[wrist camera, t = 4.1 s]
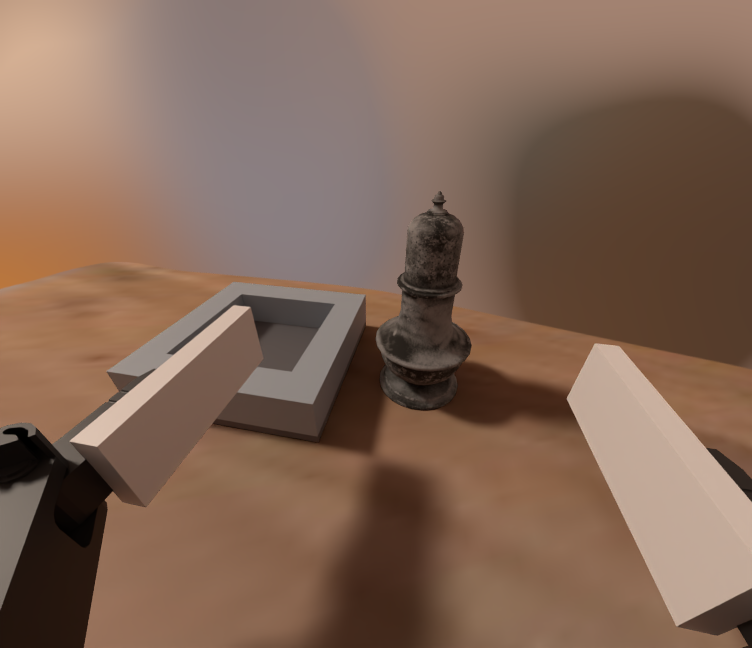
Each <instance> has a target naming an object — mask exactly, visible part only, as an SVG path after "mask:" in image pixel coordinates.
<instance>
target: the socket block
mask: <svg viewBox="0 0 752 648" xmlns="http://www.w3.org/2000/svg"><path fill="white" fill-rule="evenodd" d="M233 305H236V306H245V307H251V311H252V315H253V319H254V323H255V327H256V331H257V335H258V339H259V342H260V346H261V350H262V354H263V358H264V359H263V360H262V361H261V362H260V364H259V365H258V366H257V368H256V369H255V370H254V371H253V373H252V374H251V375H250V376H249V378H248V379H247V380H246V381H245V383H244V384H243V385H242V387H241V388H240V389H239V390H238V392H237V393H236V394H235V395H234V397H233V398H232V399H231V401H230V402H229V403H228V404H227V406H226V407H225V408H224V409H223V411H222V412H221V413H220V414H219V416H218V417H217V418H216V420H215V421H214V422H213V424H219V425H224V426H230V427H235V428H241V429H247V430H252V431H258V432H263V433H269V434H274V435H280V436H285V437H291V438H296V439H302V440H308V441H313V442H319V440H320V437H321V435H322V432H323V430H324V427H325V425H326V422H327V420H328V418H329V415H330V413H331V410H332V408H333V405H334V403H335V400H336V398H337V395H338V393H339V390H340V388H341V385H342V383H343V380H344V378H345V375H346V373H347V371H348V368H349V366H350V363H351V361H352V358H353V356H354V353H355V351H356V348H357V346H358V343H359V341H360V338H361V336H362V333H363V331H364V329H365V326H366V295H361V294H351V293H341V292H331V291H321V290H311V289H300V288H290V287H280V286H270V285H260V284H250V283H240V282H233V283H232V284H230V285H229V286H227V287H226V288H224V289H223V290H222V291H220V292H219V293H217V294H216V295H214V296H213V297H212V298H210V299H209V300H207V301H206V302H204V303H203V304H202V305H200V306H199V307H197V308H196V309H194V310H193V311H192V312H190V313H189V314H187V315H186V316H185V317H183V318H182V319H180V320H179V321H177V322H176V323H175V324H173V325H172V326H170V327H169V328H167V329H166V330H165V331H163V332H162V333H160V334H159V335H157V336H156V337H155V338H153V339H152V340H150V341H149V342H147V343H146V344H145V345H143V346H142V347H140V348H139V349H138V350H136V351H135V352H133V353H132V354H130V355H129V356H128V357H126V358H125V359H123V360H122V361H120V362H119V363H118V364H116V365H115V366H113V367H112V368H110V369H109V370H108V371H107V373H108V375H109V376H110V378H111V379H112V381H113V382H114V384H115V385H116V387H117V389H118V390H119V392H121V389H123V388H124V387H125V386H126V385H128V384H129V383H130V382H131V381H133V380H134V379H135V378H137V377H139V376H141V375H142V374H144V373H146V372H148V371H150V370H152V369H157V368H158V367H160V366H161V365H162V364H163V363H164V362H166V361H167V360H168V359H169V358H171V357H172V356H173V355H174V354H175V353H177V352H178V351H179V350H180V349H181V348H183V347H184V346H185V345H186V344H187V343H189V342H190V341H191V340H192V339H194V338H195V337H196V336H197V335H198V334H200V333H201V332H202V331H203V330H204V329H206V328H207V327H208V326H209V325H210V324H212V323H213V322H214V321H215V320H217V319H218V318H219V317H220V316H221V315H223V314H224V313H225V312H226V311H227V310H229V309H230V308H231V307H232V306H233Z"/></svg>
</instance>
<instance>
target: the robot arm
mask: <svg viewBox="0 0 752 648" xmlns="http://www.w3.org/2000/svg"><path fill="white" fill-rule="evenodd" d="M263 359H264V358H263V354H262V350H261V346H260V342H259V339H258V335H257V331H256V327H255V323H254V319H253V315H252V311H251V307H245V306H236V305H233V306H232V307H231V308H230V309H229V310H227V311H226V312H225V313H224V314H223V315H221V316H220V317H219V318H218V319H217V320H215V321H214V322H213V323H212V324H210V325H209V326H208V327H207V328H206V329H204V330H203V331H202V332H201V333H200V334H198V335H197V336H196V337H195V338H194V339H192V340H191V341H190V342H189V343H187V344H186V345H185V346H184V347H183V348H181V349H180V350H179V351H178V352H177V353H175V354H174V355H173V356H172V357H171V358H169V359H168V360H167V361H166V362H164V363H163V364H162V365H161V366H160V367H158V368H157V369H152V370H150V371H148V372H146V373H144V374H142V375H141V376H139V377H137V378H135V379H134V380H133V381H131V382H130V383H129V384H128V385H126V386H125V387H124V388H123V389H121V392H118V393H116V394H115V395H114V396H113V397H111V398H110V399H109V401H108V402H105V403H104V404H103V405H101V406H100V407H99V408H98V409H96V410H95V411H94V412H93V413H91V414H90V415H89V416H88V417H86V418H85V419H84V420H83V421H81V422H80V423H79V424H78V425H76V426H75V427H74V428H73V429H71V430H70V431H69V432H68V433H66V434H65V435H64V436H63V437H61V438H60V439H59V440H58V441H56V442H55V443H53V444H51V443H50V442H49V441H48V440H47V439H46V438H45V436H44V435H43V434H42V433H41V432H40V431H39V430H38V429H37V428H36V427H35V426H34V425H32V424H31V423H17V424H12V425H7V426H4V427H2V428H0V648H84V643H85V637H86V631H87V625H88V620H89V614H90V608H91V602H92V596H93V591H94V585H95V579H96V573H97V568H98V562H99V556H100V550H101V544H102V539H103V533H104V527H105V521H106V516H107V502H106V501H105V499H106V498H107V497H108V496H109V494H110V493H111V492H112V491H113V492H114V493H115V494H116V495H117V496H118V497H119V499H120V500H121V501H122V502H124V503H129V504H133V505H138V506H142V507H147V506H148V505H149V503H150V502H151V501H152V499H153V498H154V497H155V496H156V494H157V493H158V492H159V491H160V489H161V488H162V487H163V486H164V484H165V483H166V482H167V480H168V479H169V478H170V477H171V475H172V474H173V473H174V472H175V470H176V469H177V468H178V466H179V465H180V464H181V463H182V461H183V460H184V459H185V458H186V456H187V455H188V454H189V453H190V451H191V450H192V449H193V447H194V446H195V445H196V444H197V442H198V441H199V440H200V439H201V437H202V436H203V435H204V434H205V432H206V431H207V430H208V428H209V427H210V426H211V425H212V423H213V422H214V421H215V420H216V418H217V417H218V416H219V414H220V413H221V412H222V411H223V409H224V408H225V407H226V406H227V404H228V403H229V402H230V401H231V399H232V398H233V397H234V395H235V394H236V393H237V392H238V390H239V389H240V388H241V387H242V385H243V384H244V383H245V381H246V380H247V379H248V378H249V376H250V375H251V374H252V373H253V371H254V370H255V369H256V368H257V366H258V365H259V364H260V362H261V361H262V360H263ZM567 401H568V403H569V405H570V407H571V409H572V411H573V413H574V415H575V417H576V419H577V421H578V423H579V425H580V428H581V430H582V432H583V434H584V436H585V438H586V440H587V442H588V444H589V446H590V448H591V450H592V452H593V454H594V457H595V459H596V461H597V463H598V465H599V467H600V469H601V471H602V473H603V475H604V477H605V479H606V481H607V483H608V486H609V488H610V490H611V492H612V494H613V496H614V498H615V500H616V502H617V504H618V506H619V508H620V510H621V512H622V515H623V517H624V519H625V521H626V523H627V525H628V527H629V529H630V531H631V533H632V535H633V537H634V539H635V541H636V544H637V546H638V548H639V550H640V552H641V554H642V556H643V558H644V560H645V562H646V564H647V566H648V568H649V570H650V573H651V575H652V577H653V579H654V581H655V583H656V585H657V587H658V589H659V591H660V593H661V595H662V597H663V599H664V602H665V604H666V606H667V608H668V610H669V612H670V614H671V616H672V618H673V620H674V622H675V624H676V626H677V627H681V628H686V629H690V630H694V631H699V632H703V633H708V634H712V635H717V636H718V635H720V634H722V633H725V632H727V631H730V630H732V629H734V628H737V627H738V629H739V630H740V632H741V634H742V635H743V637H744V639H745V640H746V642H747V644H748V645H749V646H746V647H743V648H752V479H751V478H750V477H749V476H748V475H747V474H746V473H745V472H744V470H743V469H741V468H740V467H739V466H737V465H736V464H735V463H734V462H732V461H731V460H730V459H728V458H727V457H726V456H724V455H723V454H722V453H721V452H719V451H718V450H717V449H710V448H705V447H704V445H703V444H702V443H701V442H700V441H699V440H698V438H697V437H696V436H695V435H694V434H693V432H692V431H691V430H690V429H689V428H688V427H687V425H686V424H685V423H684V422H683V421H682V420H681V418H680V417H679V416H678V415H677V414H676V413H675V411H674V410H673V409H672V408H671V407H670V405H669V404H668V403H667V402H666V401H665V400H664V398H663V397H662V396H661V395H660V394H659V393H658V391H657V390H656V389H655V388H654V387H653V386H652V384H651V383H650V382H649V381H648V380H647V378H646V377H645V376H644V375H643V374H642V373H641V371H640V370H639V369H638V368H637V367H636V366H635V364H634V363H633V362H632V361H631V360H630V359H629V357H628V356H627V355H626V354H625V353H624V351H623V350H622V349H621V348H620V347H619V346H614V345H604V344H594V346H593V348H592V350H591V352H590V354H589V356H588V358H587V360H586V362H585V364H584V366H583V368H582V370H581V372H580V374H579V375H578V377H577V379H576V381H575V383H574V385H573V387H572V389H571V391H570V393H569V395H568V397H567Z"/></svg>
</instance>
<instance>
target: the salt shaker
mask: <svg viewBox="0 0 752 648" xmlns="http://www.w3.org/2000/svg"><path fill="white" fill-rule="evenodd" d="M432 202H433V203H434V206H433V209H429V210H428V211H427V212H425V213H422V214H420V215H418V216H417V217H415V218H414V219H413V220H412V221H411V223H410V224H409V227H408V233H407V248H406V262H405V272H404V273H403V274H401V275H400V276H399V277H398V280H397V284H398V286H399V287H400V288H401V289H402V302H401V311H400V314H399V316H397V317H394V318H392V319H390V320H388V321H386V322H385V323H384V324H382V325H381V327H380V328H379V329H378V331H377V334H376V343H377V347H378V348H379V350H380V351H381V354H382V357H383V359H384V361H385V364H386V365H385V366H384V367H383V369H382V371H381V373H380V384H381V388H382V390H383V391H384V393H385V394H386V395H387V396H388V397H389V398H390V399H391V400H392V401H394V402H396V403H397V404H399V405H401V406H404V407H407V408H410V409H416V410H431V409H436V408H439V407H442V406H444V405H446V404H447V403H448V402H450V401H451V400H452V399H453V397H454V396H455V394H456V390H457V380H456V377H455V375H454V373H455V371H456V370H457V369H458V368H459V367H460V365H461V364H462V362H464V361H465V360H466V358H467V357H468V356H469V354H470V350H471V346H472V345H471V342H470V338H469V337H468V335H467V334H466V332H465V331H464V330H463V329H462V328H460V327H459V326H458V325H457V324H455V323H453V322H452V318H451V314H452V309H453V302H454V297H455V294H457V293H458V292H460V291H461V288H462V282H461V281H460V280H459V279H458V277H457V270H458V264H459V259H460V253H461V246H462V241H463V235H464V231H463V226H462V224H461V222H460V220H458V219H457V218H456V217H455V216H454V215H451V214H449V213H448V212H447V210H445V209H443V203H445V202H446V200H444V196H443V195H442V193H441V191H439V192H438V194H437V195H435V198H434V199H433V200H432Z"/></svg>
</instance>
